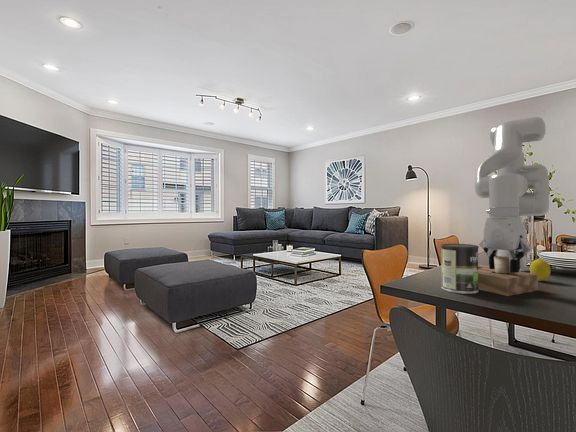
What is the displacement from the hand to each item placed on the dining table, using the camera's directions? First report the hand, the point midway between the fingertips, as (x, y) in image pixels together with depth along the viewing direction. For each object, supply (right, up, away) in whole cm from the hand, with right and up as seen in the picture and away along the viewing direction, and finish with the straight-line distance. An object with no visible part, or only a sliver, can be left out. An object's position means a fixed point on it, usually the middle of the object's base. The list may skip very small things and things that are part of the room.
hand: (503, 269), depth 95 cm
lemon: (+19, -6, +9) cm, 22 cm away
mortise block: (-2, -6, +5) cm, 8 cm away
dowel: (0, -6, 0) cm, 6 cm away
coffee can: (-14, -6, 0) cm, 15 cm away
